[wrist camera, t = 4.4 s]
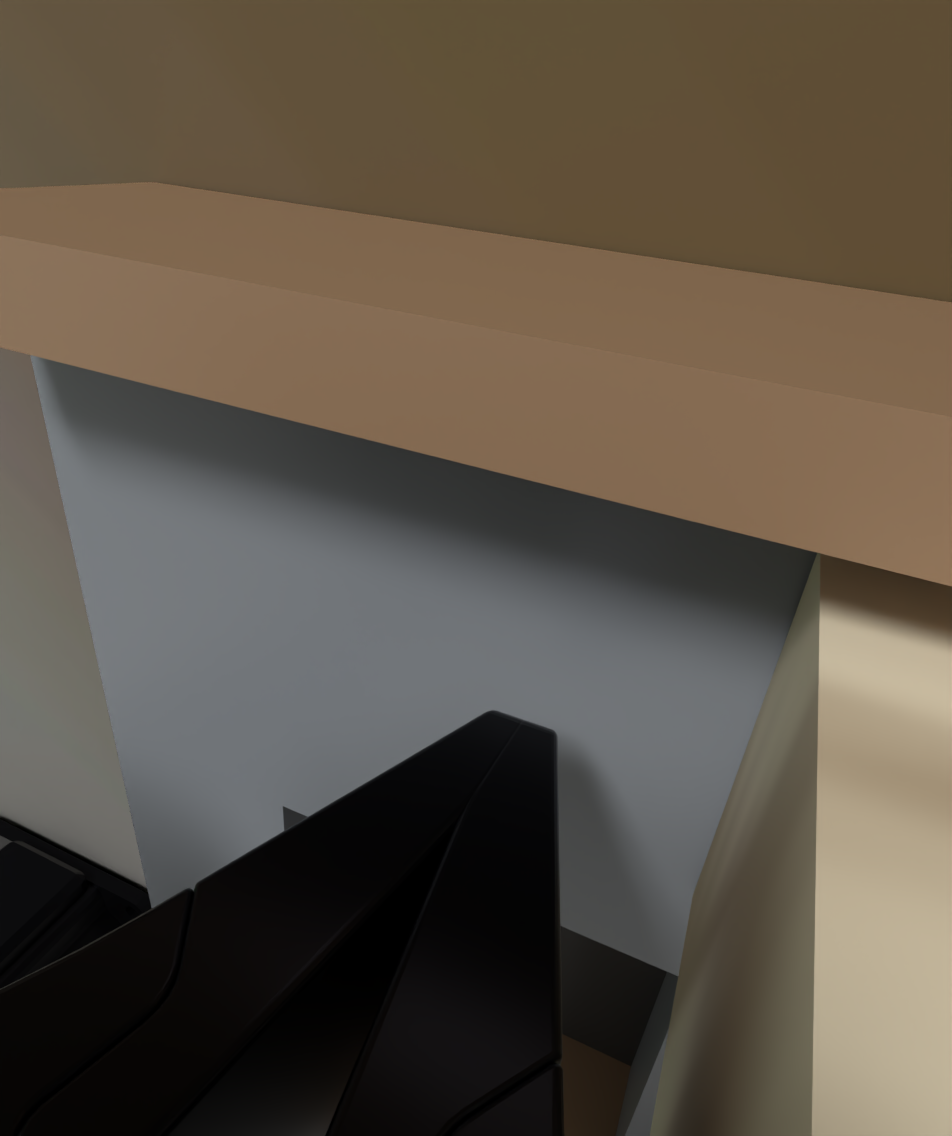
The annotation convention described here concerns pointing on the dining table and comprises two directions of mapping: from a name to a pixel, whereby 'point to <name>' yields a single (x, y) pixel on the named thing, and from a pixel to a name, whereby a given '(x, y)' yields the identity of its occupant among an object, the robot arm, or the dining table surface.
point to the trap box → (460, 529)
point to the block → (829, 885)
